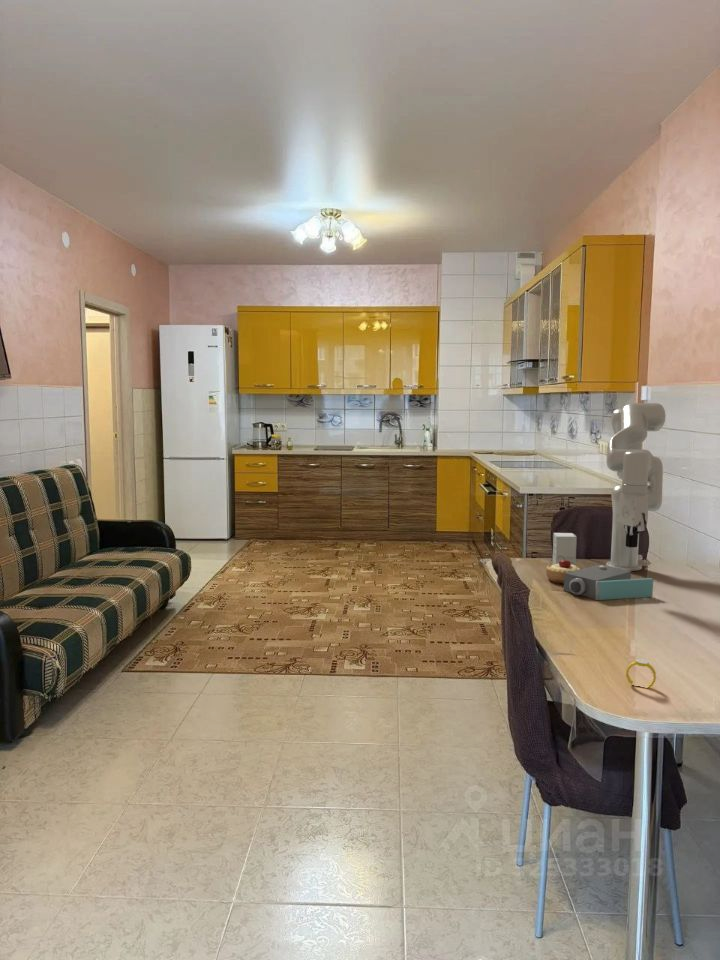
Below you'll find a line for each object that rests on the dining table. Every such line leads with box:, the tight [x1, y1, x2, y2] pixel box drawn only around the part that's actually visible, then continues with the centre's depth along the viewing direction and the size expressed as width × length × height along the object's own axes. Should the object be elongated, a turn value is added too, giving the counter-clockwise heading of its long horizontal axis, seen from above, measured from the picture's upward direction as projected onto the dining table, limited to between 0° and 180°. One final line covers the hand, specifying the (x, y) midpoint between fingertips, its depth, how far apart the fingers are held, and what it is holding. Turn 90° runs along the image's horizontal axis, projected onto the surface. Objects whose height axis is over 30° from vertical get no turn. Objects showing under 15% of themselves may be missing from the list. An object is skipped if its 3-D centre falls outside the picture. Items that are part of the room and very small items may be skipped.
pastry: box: [545, 556, 581, 585], centre depth 241 cm, size 12×12×9 cm
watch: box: [625, 658, 657, 688], centre depth 152 cm, size 6×3×6 cm, turn 64°
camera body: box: [563, 564, 632, 599], centre depth 229 cm, size 22×12×7 cm, turn 128°
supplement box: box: [552, 532, 578, 566], centre depth 261 cm, size 7×7×13 cm
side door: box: [594, 577, 654, 601], centre depth 220 cm, size 20×1×6 cm, turn 103°
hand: (631, 546), depth 221 cm, fingers closed
